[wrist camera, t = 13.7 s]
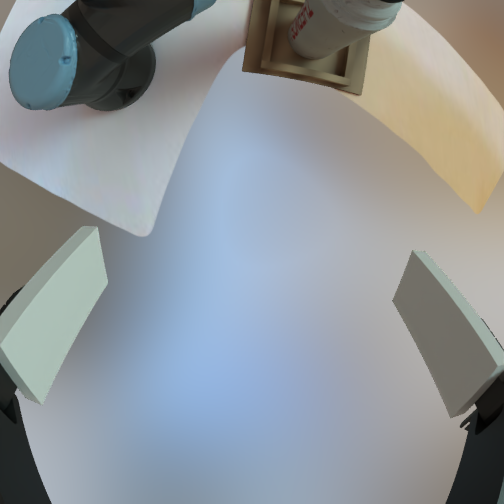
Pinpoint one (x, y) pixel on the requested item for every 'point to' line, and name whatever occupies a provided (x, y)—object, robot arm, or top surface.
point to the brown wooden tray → (292, 64)
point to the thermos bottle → (338, 24)
